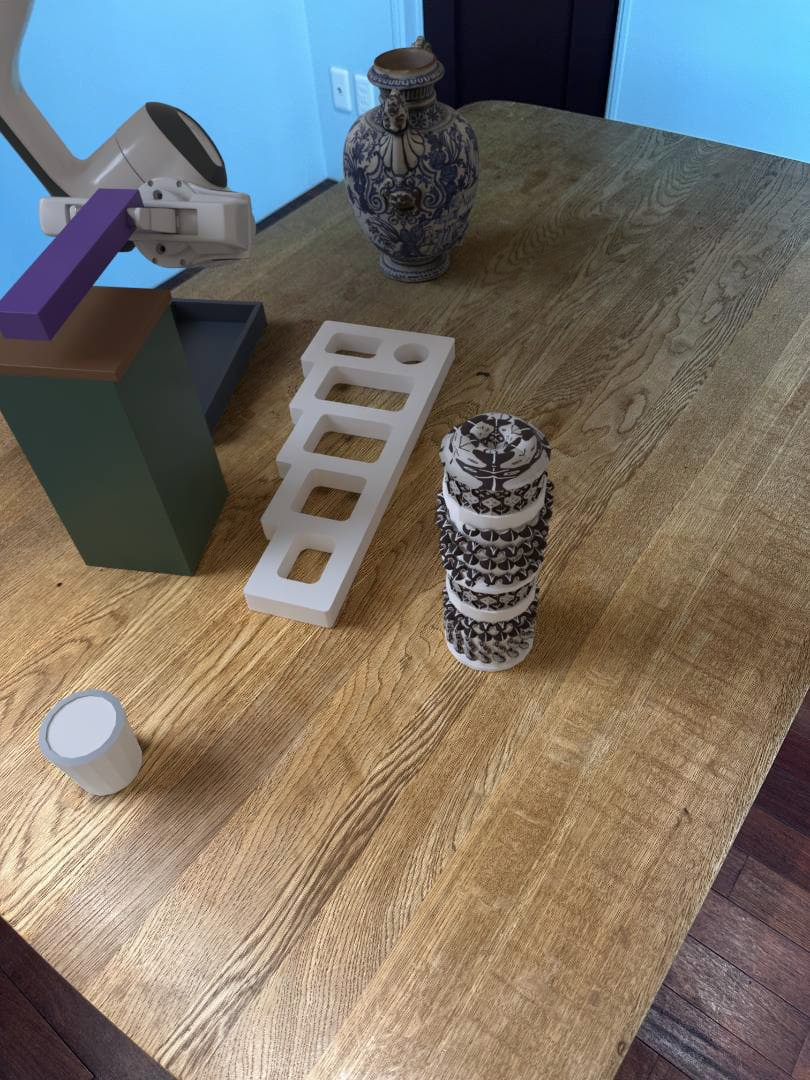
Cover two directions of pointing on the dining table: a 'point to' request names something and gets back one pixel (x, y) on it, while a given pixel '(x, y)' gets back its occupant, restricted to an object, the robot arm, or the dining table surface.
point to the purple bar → (68, 267)
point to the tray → (217, 347)
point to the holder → (343, 461)
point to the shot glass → (91, 742)
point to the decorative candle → (493, 537)
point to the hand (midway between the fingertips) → (105, 216)
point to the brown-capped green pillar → (117, 432)
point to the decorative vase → (411, 167)
